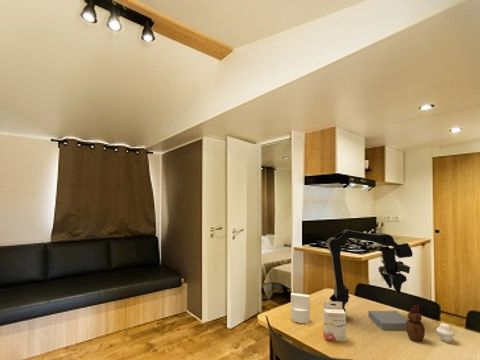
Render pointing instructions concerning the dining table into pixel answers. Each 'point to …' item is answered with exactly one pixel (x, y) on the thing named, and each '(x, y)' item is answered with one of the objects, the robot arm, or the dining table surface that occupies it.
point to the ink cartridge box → (334, 321)
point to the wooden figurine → (415, 324)
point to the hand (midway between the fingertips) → (394, 291)
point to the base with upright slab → (300, 308)
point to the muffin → (445, 332)
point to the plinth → (388, 320)
